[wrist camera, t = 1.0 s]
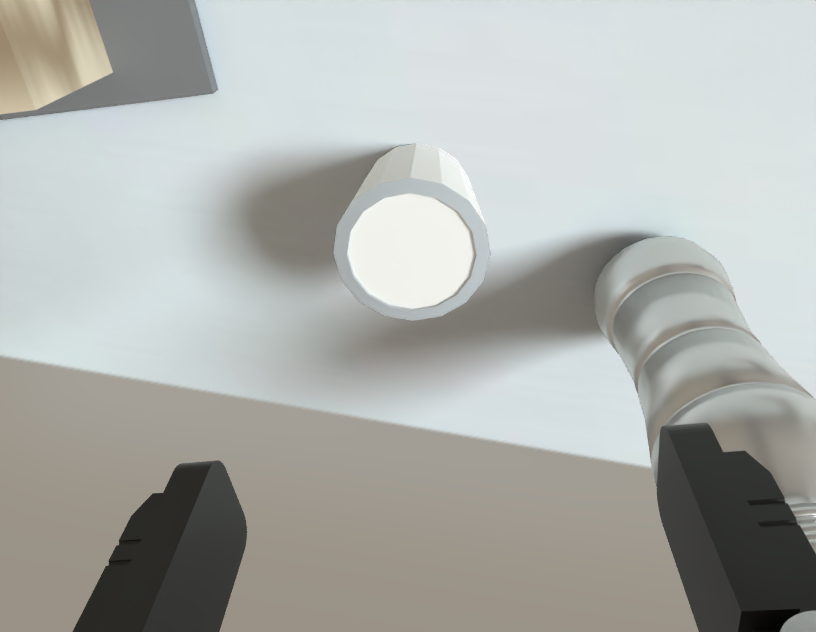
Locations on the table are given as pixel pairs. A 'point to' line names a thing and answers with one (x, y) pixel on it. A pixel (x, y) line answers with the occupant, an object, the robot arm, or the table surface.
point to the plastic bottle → (706, 363)
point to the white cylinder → (413, 236)
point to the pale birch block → (47, 52)
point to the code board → (143, 56)
